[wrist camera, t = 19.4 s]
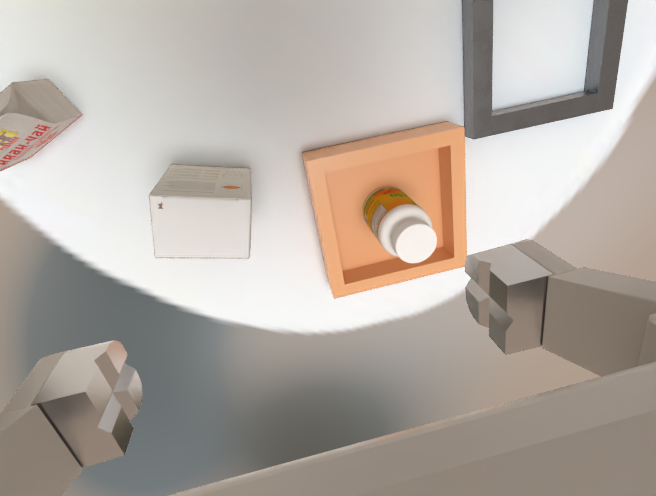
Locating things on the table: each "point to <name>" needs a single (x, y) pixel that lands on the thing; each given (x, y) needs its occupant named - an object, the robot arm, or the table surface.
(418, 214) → the supplement bottle
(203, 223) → the small box
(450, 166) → the tray
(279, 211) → the table surface
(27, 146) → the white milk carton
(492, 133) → the dark grey square frame
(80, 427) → the robot arm
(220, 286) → the table surface
